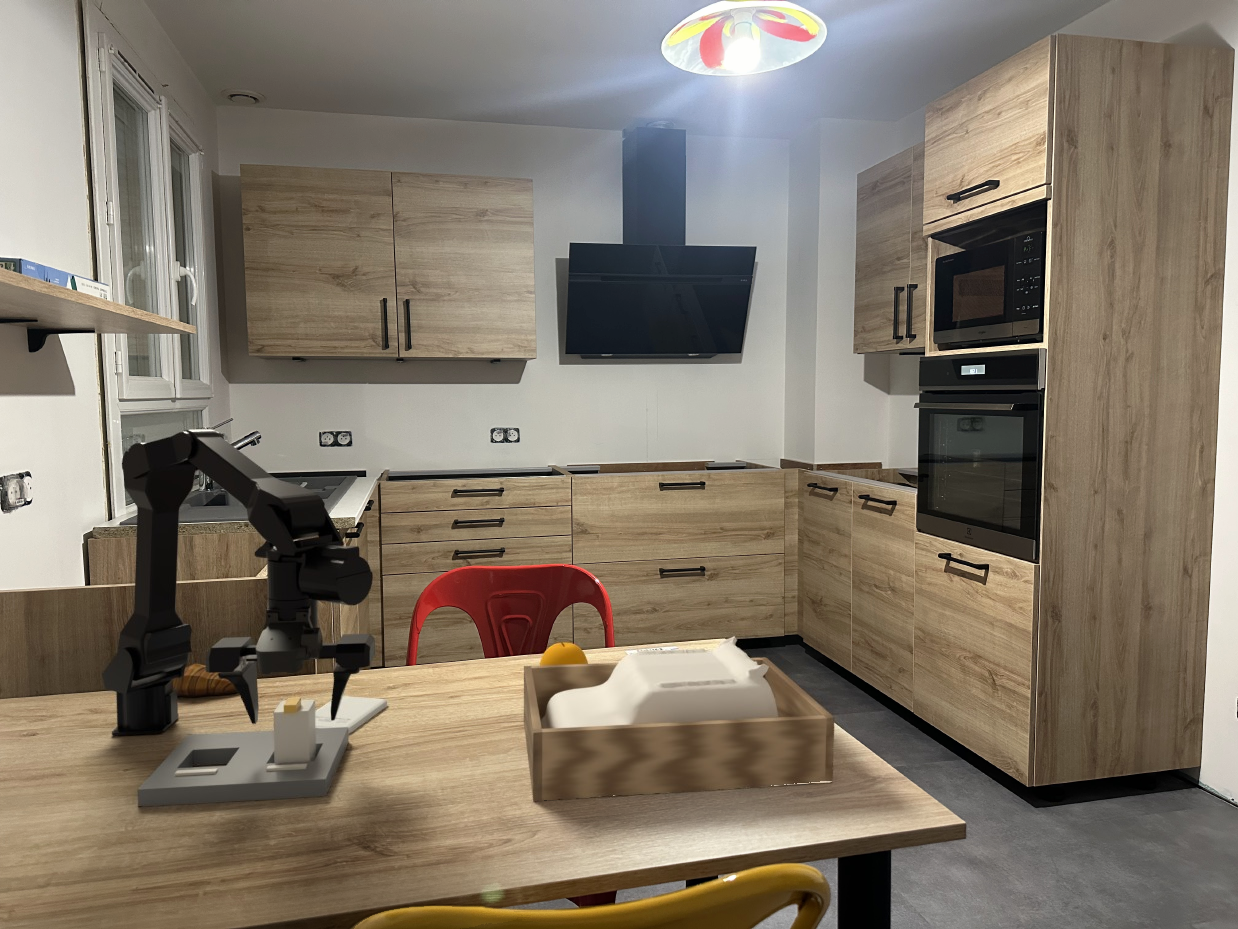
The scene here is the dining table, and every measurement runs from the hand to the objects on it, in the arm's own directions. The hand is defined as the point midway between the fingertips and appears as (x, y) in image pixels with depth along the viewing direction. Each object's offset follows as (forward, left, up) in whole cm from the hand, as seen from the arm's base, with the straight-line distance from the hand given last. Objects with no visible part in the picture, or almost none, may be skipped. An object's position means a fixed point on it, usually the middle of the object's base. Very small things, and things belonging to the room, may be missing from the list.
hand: (294, 721), depth 103 cm
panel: (-5, 0, -6) cm, 8 cm away
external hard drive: (+3, +17, -7) cm, 18 cm away
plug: (0, 0, -6) cm, 6 cm away
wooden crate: (+47, 0, -6) cm, 47 cm away
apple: (+36, +26, -6) cm, 44 cm away
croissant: (-21, +31, -7) cm, 38 cm away
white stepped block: (+46, 0, -6) cm, 46 cm away
